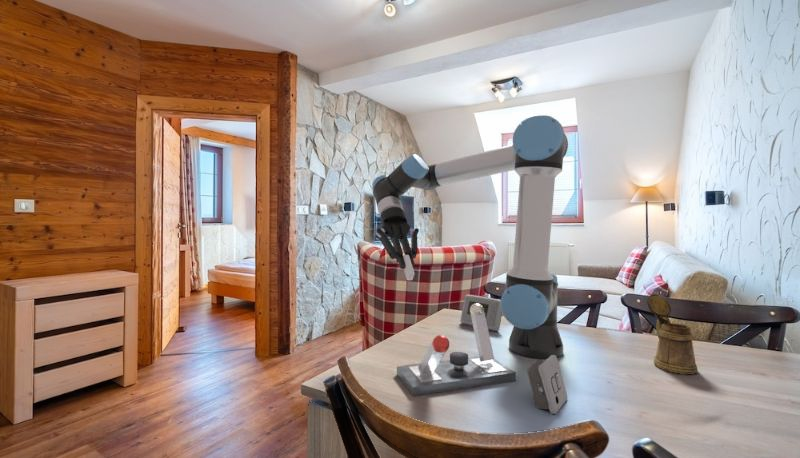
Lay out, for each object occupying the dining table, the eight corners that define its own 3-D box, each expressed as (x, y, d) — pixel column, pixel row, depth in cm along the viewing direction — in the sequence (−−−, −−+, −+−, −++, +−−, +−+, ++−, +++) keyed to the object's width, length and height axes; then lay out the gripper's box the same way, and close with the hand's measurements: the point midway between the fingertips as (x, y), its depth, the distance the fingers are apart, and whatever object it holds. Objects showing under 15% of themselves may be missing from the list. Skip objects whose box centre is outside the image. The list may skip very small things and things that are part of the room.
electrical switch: (555, 416, 73) (550, 368, 73) (528, 410, 76) (524, 364, 76) (568, 399, 80) (564, 355, 80) (543, 394, 83) (540, 352, 84)
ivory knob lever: (490, 360, 96) (478, 304, 101) (497, 359, 92) (484, 301, 98) (477, 362, 94) (466, 305, 100) (484, 360, 91) (472, 302, 97)
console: (489, 362, 100) (489, 349, 100) (515, 380, 89) (515, 365, 89) (396, 374, 92) (396, 360, 92) (413, 396, 81) (413, 379, 81)
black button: (462, 358, 94) (462, 351, 94) (471, 364, 89) (471, 357, 89) (446, 360, 92) (446, 352, 92) (454, 366, 88) (454, 359, 88)
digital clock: (457, 323, 139) (457, 295, 139) (474, 319, 144) (475, 292, 144) (490, 334, 126) (490, 303, 126) (508, 330, 131) (508, 299, 131)
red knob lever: (430, 362, 89) (448, 331, 79) (434, 376, 87) (453, 346, 77) (416, 363, 88) (433, 332, 78) (419, 378, 86) (437, 348, 76)
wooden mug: (668, 355, 106) (669, 292, 106) (706, 375, 92) (708, 303, 92) (636, 355, 106) (637, 292, 106) (670, 375, 93) (672, 303, 92)
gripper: (409, 223, 117) (430, 284, 102) (369, 223, 113) (384, 287, 98) (415, 205, 112) (437, 267, 97) (373, 205, 108) (389, 269, 93)
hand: (410, 277), depth 97 cm, fingers closed
